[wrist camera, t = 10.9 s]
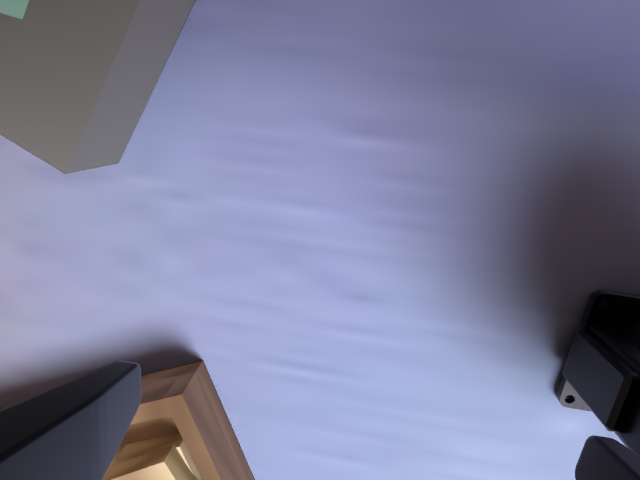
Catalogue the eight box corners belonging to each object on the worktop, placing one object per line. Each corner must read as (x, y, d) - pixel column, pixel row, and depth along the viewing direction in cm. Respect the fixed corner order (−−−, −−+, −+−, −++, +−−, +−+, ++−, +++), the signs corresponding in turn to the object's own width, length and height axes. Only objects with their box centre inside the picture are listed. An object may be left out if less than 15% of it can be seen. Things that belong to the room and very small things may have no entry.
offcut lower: (188, 430, 24) (179, 446, 23) (213, 485, 25) (206, 503, 24) (125, 444, 24) (114, 460, 23) (153, 497, 25) (143, 515, 24)
